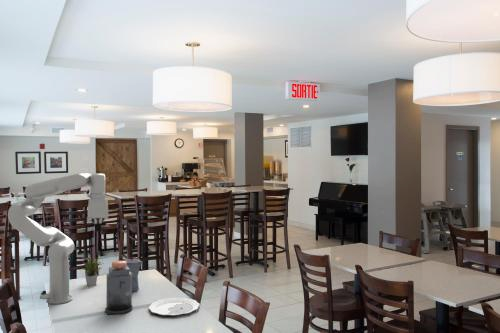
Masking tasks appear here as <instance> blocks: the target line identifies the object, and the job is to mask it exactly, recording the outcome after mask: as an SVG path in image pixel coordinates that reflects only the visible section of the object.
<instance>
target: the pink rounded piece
mask: <svg viewBox="0 0 500 333" xmlns="http://www.w3.org/2000/svg"><path fill="white" fill-rule="evenodd" d="M126 266H127V262H126V261H120V260H116V261H112V262H111V267H112V268H117V269H121V268H124V267H126Z"/></svg>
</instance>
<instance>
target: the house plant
mask: <svg viewBox="0 0 500 333" xmlns="http://www.w3.org/2000/svg"><path fill="white" fill-rule="evenodd" d="M99 260H100V258H99V259H97V258H95V259H94V261H93V262H92V258H91V257H90V258H89V259H88V258H87V262H86V263H85V262H84V261H82V263H83V265H84V266H85V267H86V268H84V267H83V268H81V270H83V271H85V276H84V278H85V281H86V282H85V283H86V286H87V287H95V286H97V280H98V275H99V274H98V273H96V272H97V271H99V272H101V270H102V267H101V265H102V264H103V260H101V261H99ZM99 266H100V267H99Z"/></svg>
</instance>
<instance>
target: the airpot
mask: <svg viewBox="0 0 500 333" xmlns="http://www.w3.org/2000/svg"><path fill="white" fill-rule="evenodd" d="M132 295H133V294H132V273H131V272H130V269H129V268H128V267H127V266H126V267H124V268H121V269H117V268H112V266H109V267H108V273H107V274H106V301H105V302H106V305H105V313H106V314H107V315H110V316H111V315H112V316H119V315H125V314H128V313H131V312H132V311H133V309H134V307H133V304H132V302H133V300H132V299H133V298H132V297H133V296H132Z"/></svg>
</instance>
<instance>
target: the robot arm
mask: <svg viewBox="0 0 500 333" xmlns="http://www.w3.org/2000/svg"><path fill="white" fill-rule="evenodd" d="M86 187H89V190H90V191H89V192H90V193H89V194H87V195H86V196H87V198H89V199H88V204H87V213H86V214H87V218H86V220H87V221H91V222H92V223H94V230H95V231H96V232H100V231H101V229H102V223H103V222H104V221H106V220H108V219H109V204H108V199H107V198H106V174H105V173H99V172H98V173H97V172H96V173H88V172H78V173H74V174H70V175H66V176H62V177H55V178H50V179H47V180H43V181H38V182H33V183H31V184H28V185H27V186H26V187H25V189H24V195H25V196H26V198H25V199H24V200H22V201H18V202H15V203H13V204H12V205H11V206H10V207H9V209H8V213H7V218H8V222H9V224H10V225H11V226H12V227H13V228H14V229H15V230H17V231H18V232H20V233H21V234H22V235H23V236H25V237H26V238H27V239H29V240H30V241H32V242H33V243H34V244H35V245H37V246H39V247H41V248H43V247H47V246H49V248H48V251H47V256H48V263H49V264H48V265H49V291H48V293H45V294H40V295H39V300H46V303H47V304H48V305H49V304H50V305H61V304H65V303H69V302H71V301H72V300H73V295H70V262H69V255H70V254H72V253H73V252H74V250H75V247H76V246H75V243H74V241H73V240H72V239H71V238H70V237H69V236H67V235H66V234H65V233H63V232H62V231H60V229H58V228H56V227H53V226H45V227H43V226H42V225H41V224H40V223H38V222H37V221H35V220H34V219H31V218H30V217H29V216H32V215H34V214H35V213H36V212H37V211H38V209H39V208H40V206H41V205H42V204H43V202H44V201H45V199H46V198H48V197H51V196H52V197H53V196H56V195H59V194H62V193H64V192H68V191H73V190H76V189H81V188H86ZM97 219H98V220H97Z"/></svg>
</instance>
